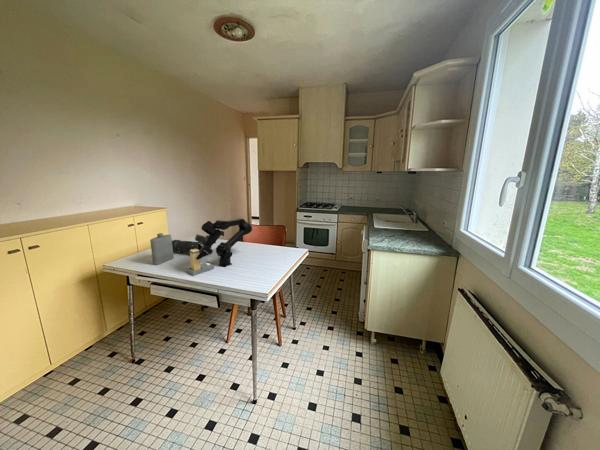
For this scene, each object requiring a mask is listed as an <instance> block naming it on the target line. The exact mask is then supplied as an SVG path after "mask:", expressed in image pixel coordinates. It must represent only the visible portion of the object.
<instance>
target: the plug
mask: <svg viewBox="0 0 600 450" xmlns="http://www.w3.org/2000/svg"><path fill="white" fill-rule="evenodd" d="M198 255H199V250H198V249H192V250H190V253H189V258H190V259H189V260H190V267H191V270H192V271H196V270H199V269H201V266H200V264H201V258H200V259H198V260H197V259H196V258H197V256H198Z"/></svg>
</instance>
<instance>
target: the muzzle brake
mask: <svg viewBox="0 0 600 450" xmlns="http://www.w3.org/2000/svg"><path fill="white" fill-rule="evenodd" d="M172 247H173V253H179V254H190V250H192V249H197V247H198V241H190V240H189V241H188V240H181V239H172Z"/></svg>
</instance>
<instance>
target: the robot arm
mask: <svg viewBox="0 0 600 450" xmlns="http://www.w3.org/2000/svg"><path fill="white" fill-rule="evenodd" d="M235 226H238V231H236V232H235V233H234V235H232V236H231V237H230V238H229V239H227V241H226V242H222V241H221V242H220V243H219V244H217V247H216V248H215V252H216V254H217V256H218V257H219V259H218V261H219V263H218V266H221V267H223V268H225V267H227V266H232V265H233V263H232V262H231V257H233V252H232V247H233V246H235V245H236V244H237V243H238V242H239V240H240V239H242V238H243V237H244V236H245V235H249V234H251V232H252V231H253V227H252V225H251V224H250V223H249V222H247V221H246V220H245V219H244V218H235V219H229V220H222V219H218V220H216V221H214V222H213V223H212V221H210V220H207V221H206V222H204V224H202V225H201V230H202V231H203V232H204V233H206V236H204V235H203V234H202V235H201V234H197V233H196V235H195V237H194V240H195V242H198V247H197V249H198V250H199V255H198V256H197V258H196V259H197V260H198V259H200V260H201V259H202V258H204V257H206V256H209V255H210V256H211V255H212V254H213V249H212V246H213V245H215V244H216V243H217V241H218V240H219V239H220V237H221V236H222V237H225V232H224V231H225V230H227V229H229V228H231V227H235Z"/></svg>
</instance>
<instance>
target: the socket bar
mask: <svg viewBox="0 0 600 450" xmlns="http://www.w3.org/2000/svg"><path fill="white" fill-rule="evenodd" d="M200 266H201V269H199V270H196V271H192V270H191V266H190V267H187V268H186V273H187V274H189V275H191V276H194V277H195V276H197V275H200V274H203V273H206V272H210V271H213V270H214V269H215V265H214V264H212V263H210V262H203V263H200Z"/></svg>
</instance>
